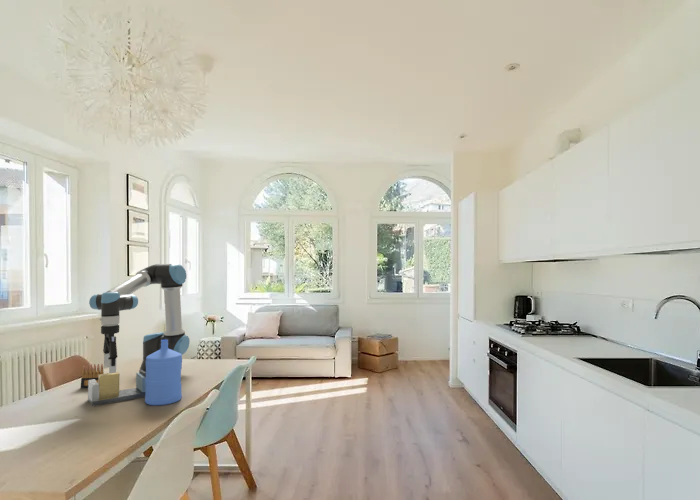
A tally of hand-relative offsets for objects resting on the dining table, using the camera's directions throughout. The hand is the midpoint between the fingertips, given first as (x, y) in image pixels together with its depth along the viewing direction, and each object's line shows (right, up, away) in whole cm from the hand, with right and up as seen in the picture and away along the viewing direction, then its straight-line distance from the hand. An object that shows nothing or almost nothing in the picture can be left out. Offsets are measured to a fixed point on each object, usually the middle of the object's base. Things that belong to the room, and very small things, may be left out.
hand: (109, 370), depth 196 cm
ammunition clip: (-21, -15, +21) cm, 33 cm away
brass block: (0, -12, -1) cm, 12 cm away
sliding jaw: (+12, -12, +9) cm, 19 cm away
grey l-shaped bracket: (+3, -14, +2) cm, 14 cm away
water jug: (+26, -14, -2) cm, 30 cm away
